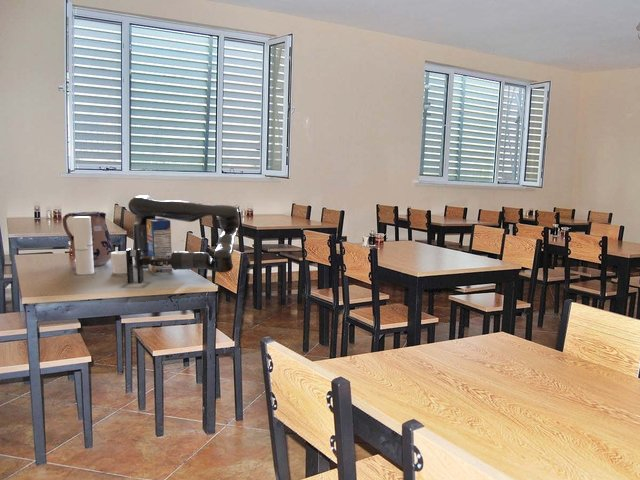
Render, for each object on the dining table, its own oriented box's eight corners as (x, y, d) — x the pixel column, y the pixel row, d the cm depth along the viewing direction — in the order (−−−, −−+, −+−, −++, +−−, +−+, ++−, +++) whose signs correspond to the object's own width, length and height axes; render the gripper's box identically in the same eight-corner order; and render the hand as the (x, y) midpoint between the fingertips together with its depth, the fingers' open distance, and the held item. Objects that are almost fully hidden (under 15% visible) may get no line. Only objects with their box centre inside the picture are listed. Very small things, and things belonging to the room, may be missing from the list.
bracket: (129, 282, 269) (127, 247, 267) (149, 282, 270) (147, 247, 268) (121, 287, 260) (119, 251, 257) (142, 287, 260) (140, 251, 258)
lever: (135, 261, 275) (135, 255, 275) (152, 261, 275) (152, 255, 276) (123, 255, 261) (124, 250, 261) (141, 256, 261) (142, 250, 262)
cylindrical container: (97, 272, 289) (94, 216, 285) (83, 275, 283) (79, 218, 279) (87, 271, 293) (83, 215, 289) (72, 273, 287) (68, 217, 282)
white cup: (134, 273, 289) (133, 251, 287) (125, 277, 281) (124, 254, 280) (117, 273, 290) (116, 251, 288) (108, 276, 282) (106, 253, 280)
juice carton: (148, 271, 295) (146, 218, 291) (165, 270, 299) (163, 218, 295) (155, 275, 286) (152, 221, 281) (172, 274, 290) (170, 220, 286)
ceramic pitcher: (112, 267, 303) (109, 214, 299) (62, 269, 297) (58, 214, 292) (115, 261, 320) (112, 210, 315) (68, 263, 313) (64, 211, 309)
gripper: (180, 272, 269) (137, 272, 268) (188, 266, 283) (147, 266, 282) (179, 254, 268) (136, 254, 267) (187, 249, 282) (146, 249, 280)
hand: (142, 260), depth 274 cm, fingers closed on lever, 2 cm apart
